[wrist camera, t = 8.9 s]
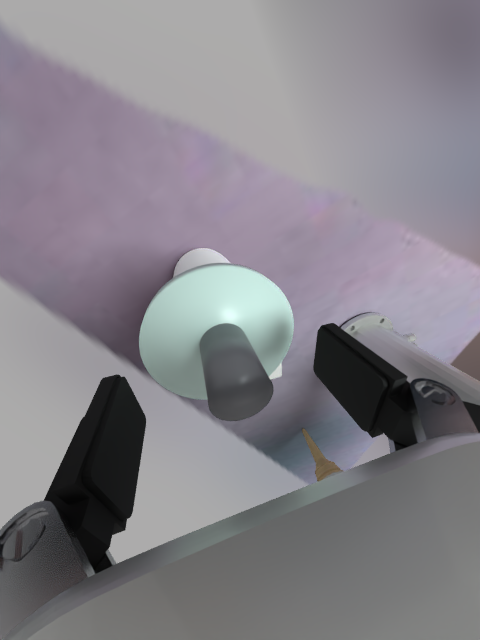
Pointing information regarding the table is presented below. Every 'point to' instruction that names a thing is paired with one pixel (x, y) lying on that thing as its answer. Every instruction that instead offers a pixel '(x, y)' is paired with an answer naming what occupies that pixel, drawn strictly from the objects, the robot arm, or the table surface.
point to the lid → (218, 337)
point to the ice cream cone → (321, 461)
